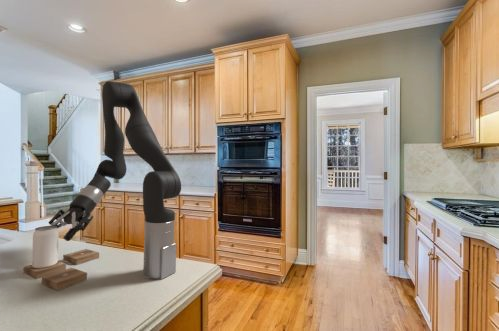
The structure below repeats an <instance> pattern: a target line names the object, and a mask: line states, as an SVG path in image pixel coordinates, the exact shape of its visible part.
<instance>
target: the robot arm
mask: <svg viewBox="0 0 499 331" xmlns="http://www.w3.org/2000/svg"><path fill="white" fill-rule="evenodd" d="M101 93H102V94H101V100H102V112H103V114H102V116H103V122H104V147H103V150H104V151H103V153H104V156H106V157H108V158H109V159H104V160H102V161H100V162H99V164H98V166H97V168H96V171H95V173H94V175H93V177H92V178H91V180H90V181H89V182H88V183H87V185H86V186H85V187H84V188H82V189H81V190H80V191H79V193H78V194H77V195H76V196H75V198H73V200H72V201H71V202H70V204H69V208H68V210H66V211H64V210H63V209H59V211H57V213H55V215H53V217H52V218H51V219H50V220H49V221H48V224H49V226H57V229H58V230H59V228H60V229H61V227H65V226H67V225H71V228H69V230H68V231H67V232H66V233H65V235H64V236H63V237H62V239H63V240H64V241H66V242H70V240H72V239H73V238H74V236H75V235H76V234H77V233H78V232H79V231H82V232H83V231H85V230H86V229H87V227H88V225H89V224H90V223H91V222H92V220H93V218H94V215H92V214H91V213H93V211H94V210H95V209H96V207H97V206H98V204H99V203H100V202H101V201H102V199H103V197H104V196H105V194H106V193H107V192H108V190H109V189H110V188H111V187H112V186H111V184H112V183H111V181H110V180H109V179H108V178H110V179H114V180H122V179H123V178H124V177H125V176H126V174H127V165H126V164H127V163H126V159H125V155H124V154H125V153H124V151H125V150H124V149H125V137H126V139H127V142H128V144H129V147H130V148H131V150H132V151H133V152H134V153H135V154H136V155H137V156H138V157H139V158H141V160H143V161H145V163H146V164H148V165H149V166H150V167H151V168H152V169H153V171H149V172H147V174H145V177H144V179H143V182H142V209H143V214H144V235H143V236H144V238H143V239H144V241H143V242H144V243H143V271H142V272H143V273H142V274H143V276H144V278H147V279H160V280H163V279H165V278H166V277H169V276H171V275H172V274H175V273H176V271H177V270H176V267H177V243H176V242H175V227H176V226H175V224H176V221H175V220H176V218H175V217H176V212H175V210H173V209H170V208H166V206H165V203H164V201H165V200H169V199H174V198H177V197H178V196H179V195H180V194H181V191H182V182H181V179H180V176H179V175H178V174H179V173H177V171H176V169H175V167H174V166H173V165H172V163H171V161H170V160H169V158H168V157H167V155H166V154H165V152H164V150H163V148H162V147H161V144H160V142H159V140H158V139H157V136H156V134H155V132H154V130H153V128H152V126H151V124H150V123H149V120H148V118H147V116H146V114H145V112H144V109H143V107H142V105H141V102H140V99H139V96H138V93H137V91H136V89H135V88H134V86H132V85H131V84H130V83H129V84H128V83H126V82H125V83H123V82H118V81H111V80H109V81H105V82H104V84H103V86H102V91H101ZM115 108H125V109H127V110H128V112H129V118H128V119H127V122H126V125H125V128H124V133H123V131H122V129H121V127H120V125H119V124H118V122H117V120H116V117H115ZM106 177H107V178H106Z"/></svg>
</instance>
